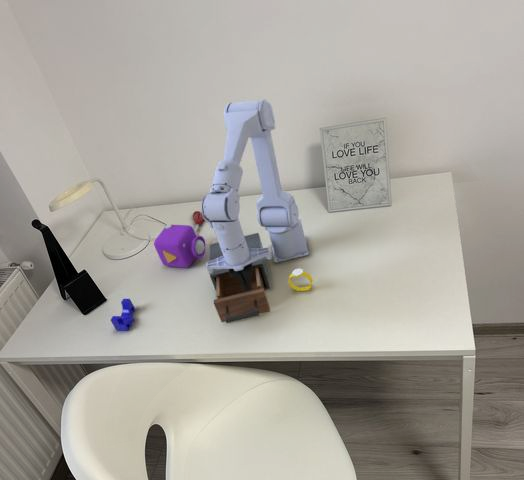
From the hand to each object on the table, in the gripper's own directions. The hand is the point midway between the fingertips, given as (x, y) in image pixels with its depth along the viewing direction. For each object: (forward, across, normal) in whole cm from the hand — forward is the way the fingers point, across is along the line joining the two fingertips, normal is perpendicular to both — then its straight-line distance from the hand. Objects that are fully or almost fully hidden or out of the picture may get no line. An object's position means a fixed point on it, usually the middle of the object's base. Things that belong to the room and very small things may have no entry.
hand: (248, 287), depth 128 cm
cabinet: (+10, -3, +17) cm, 20 cm away
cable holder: (+10, -35, +11) cm, 38 cm away
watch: (+10, +12, +7) cm, 17 cm away
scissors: (+10, -16, +48) cm, 51 cm away
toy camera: (+11, -19, +32) cm, 38 cm away
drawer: (+9, -3, +4) cm, 11 cm away
